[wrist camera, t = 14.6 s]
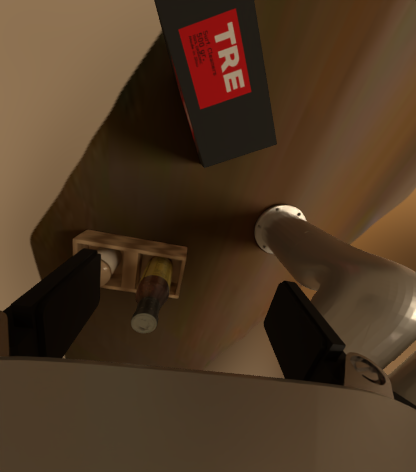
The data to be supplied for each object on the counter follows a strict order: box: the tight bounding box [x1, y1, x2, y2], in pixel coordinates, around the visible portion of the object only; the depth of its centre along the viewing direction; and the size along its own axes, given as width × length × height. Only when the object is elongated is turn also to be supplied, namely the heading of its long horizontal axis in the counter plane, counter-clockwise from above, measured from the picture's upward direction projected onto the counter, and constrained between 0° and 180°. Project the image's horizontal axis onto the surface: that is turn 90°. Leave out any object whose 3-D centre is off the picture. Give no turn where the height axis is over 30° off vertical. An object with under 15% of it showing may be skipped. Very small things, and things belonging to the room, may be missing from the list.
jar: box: [97, 247, 122, 286], centre depth 44 cm, size 6×6×8 cm
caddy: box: [73, 229, 187, 298], centre depth 47 cm, size 24×11×6 cm, turn 78°
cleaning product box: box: [154, 0, 277, 168], centre depth 30 cm, size 16×9×20 cm, turn 17°
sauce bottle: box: [131, 256, 173, 333], centre depth 40 cm, size 7×6×20 cm
